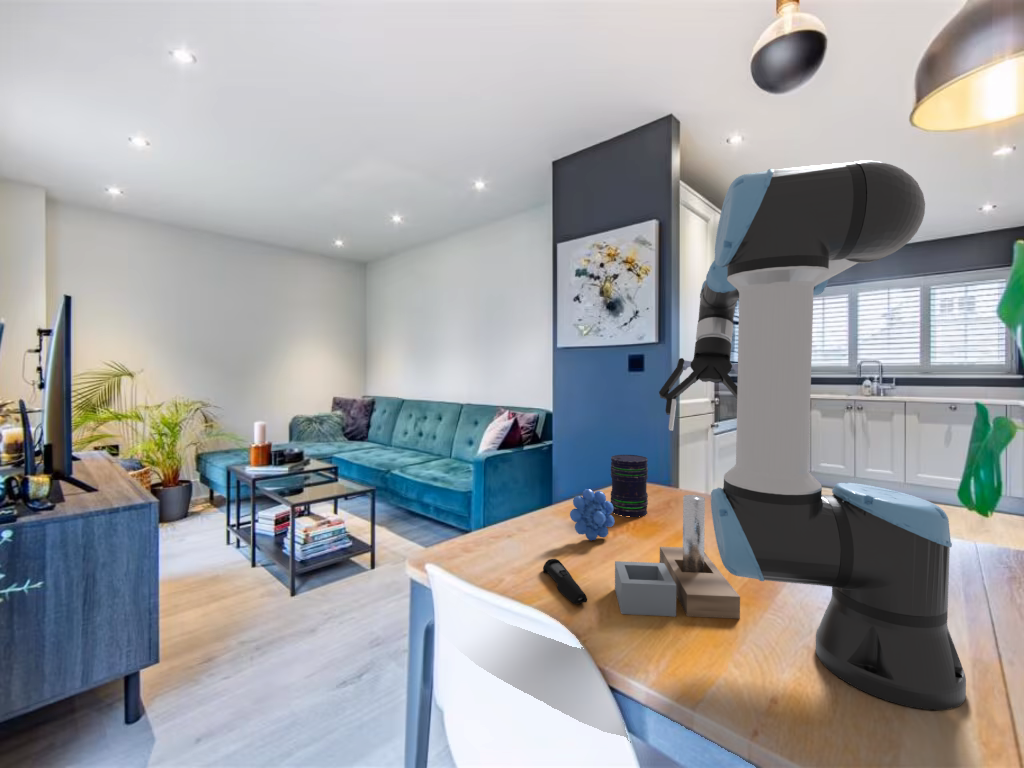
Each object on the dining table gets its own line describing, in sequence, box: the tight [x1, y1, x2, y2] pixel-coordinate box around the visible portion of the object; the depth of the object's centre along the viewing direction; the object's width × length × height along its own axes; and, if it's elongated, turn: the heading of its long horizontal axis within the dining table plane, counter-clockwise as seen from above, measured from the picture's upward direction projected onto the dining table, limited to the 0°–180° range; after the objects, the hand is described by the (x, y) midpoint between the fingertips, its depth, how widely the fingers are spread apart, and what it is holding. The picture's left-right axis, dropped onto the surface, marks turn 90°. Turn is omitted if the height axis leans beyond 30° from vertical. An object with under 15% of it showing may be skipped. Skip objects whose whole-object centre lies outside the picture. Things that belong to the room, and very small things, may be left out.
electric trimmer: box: [542, 558, 588, 605], centre depth 84 cm, size 4×16×3 cm, turn 14°
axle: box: [682, 494, 706, 573], centre depth 84 cm, size 4×4×15 cm
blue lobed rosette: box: [569, 488, 615, 541], centre depth 106 cm, size 12×7×12 cm, turn 113°
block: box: [614, 560, 677, 617], centre depth 78 cm, size 8×8×5 cm
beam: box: [659, 546, 741, 620], centre depth 83 cm, size 20×8×4 cm, turn 174°
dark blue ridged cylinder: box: [610, 454, 649, 518], centre depth 127 cm, size 10×10×15 cm
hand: (704, 433), depth 99 cm, fingers open, 13 cm apart
